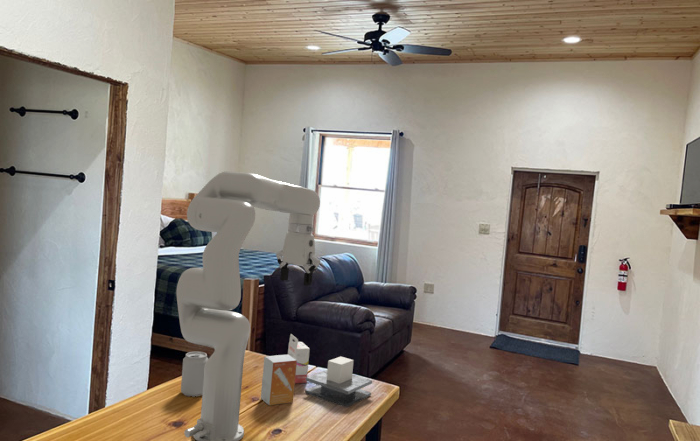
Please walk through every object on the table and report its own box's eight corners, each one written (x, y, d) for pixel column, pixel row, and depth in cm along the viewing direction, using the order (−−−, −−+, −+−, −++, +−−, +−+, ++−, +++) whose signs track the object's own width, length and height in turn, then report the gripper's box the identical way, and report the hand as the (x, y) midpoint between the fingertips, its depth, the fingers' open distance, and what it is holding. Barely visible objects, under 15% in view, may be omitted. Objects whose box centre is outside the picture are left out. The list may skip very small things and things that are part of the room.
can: (175, 395, 162) (178, 355, 161) (188, 387, 169) (191, 348, 169) (198, 399, 160) (201, 359, 160) (210, 391, 167) (213, 352, 167)
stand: (346, 407, 164) (348, 391, 164) (304, 393, 173) (306, 377, 173) (370, 395, 176) (372, 380, 175) (330, 382, 184) (331, 368, 184)
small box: (269, 406, 160) (272, 362, 159) (260, 398, 165) (263, 356, 165) (293, 402, 164) (297, 359, 164) (284, 395, 170) (287, 353, 169)
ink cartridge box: (307, 383, 182) (311, 339, 181) (293, 384, 180) (297, 340, 179) (299, 374, 190) (302, 332, 189) (285, 375, 188) (289, 333, 187)
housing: (351, 378, 176) (353, 360, 175) (339, 383, 170) (341, 364, 169) (339, 374, 178) (340, 356, 178) (326, 379, 172) (328, 360, 172)
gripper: (329, 232, 172) (324, 286, 173) (287, 226, 181) (282, 277, 182) (314, 232, 166) (309, 288, 166) (271, 226, 175) (267, 279, 176)
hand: (295, 282), depth 174 cm, fingers open, 9 cm apart
